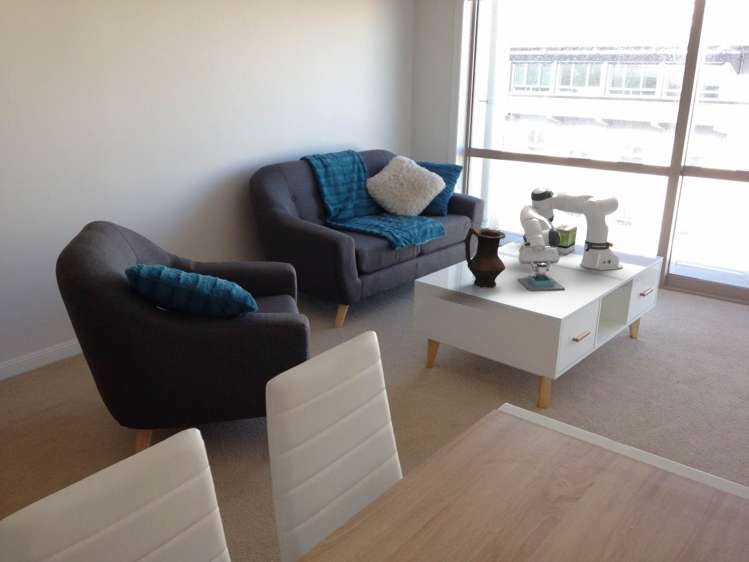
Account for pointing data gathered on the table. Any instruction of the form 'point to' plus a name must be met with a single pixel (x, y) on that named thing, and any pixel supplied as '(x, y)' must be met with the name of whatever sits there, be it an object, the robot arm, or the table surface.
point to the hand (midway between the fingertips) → (541, 270)
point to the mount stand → (540, 284)
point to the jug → (485, 256)
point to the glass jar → (541, 270)
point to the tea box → (566, 238)
